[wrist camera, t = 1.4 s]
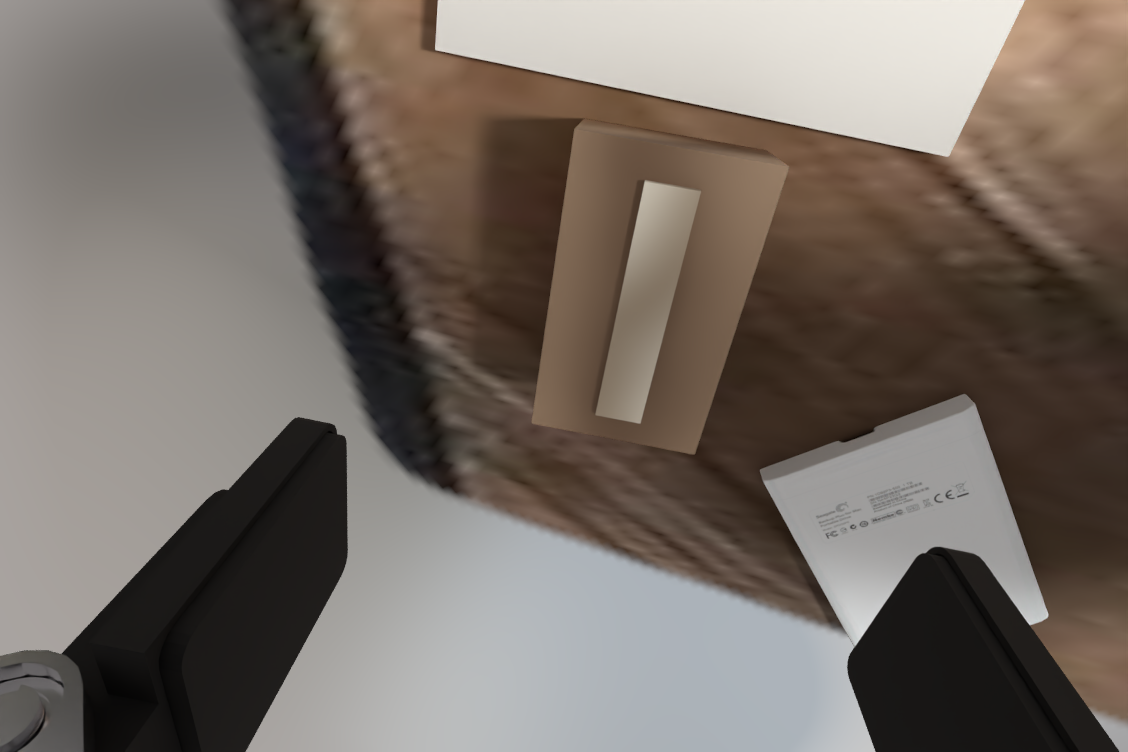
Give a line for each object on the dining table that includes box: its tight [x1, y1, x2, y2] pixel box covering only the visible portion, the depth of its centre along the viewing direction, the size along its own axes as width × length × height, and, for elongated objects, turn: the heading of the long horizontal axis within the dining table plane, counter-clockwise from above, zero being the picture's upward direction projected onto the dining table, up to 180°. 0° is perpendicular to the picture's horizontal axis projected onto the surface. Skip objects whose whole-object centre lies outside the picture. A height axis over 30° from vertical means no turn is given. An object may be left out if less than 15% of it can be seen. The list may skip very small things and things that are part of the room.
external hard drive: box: [760, 394, 1048, 647], centre depth 25 cm, size 2×8×12 cm
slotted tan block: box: [531, 118, 789, 455], centre depth 20 cm, size 6×10×4 cm, turn 171°
